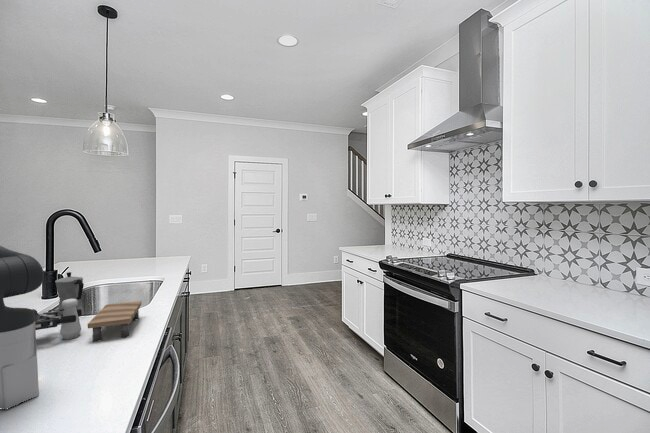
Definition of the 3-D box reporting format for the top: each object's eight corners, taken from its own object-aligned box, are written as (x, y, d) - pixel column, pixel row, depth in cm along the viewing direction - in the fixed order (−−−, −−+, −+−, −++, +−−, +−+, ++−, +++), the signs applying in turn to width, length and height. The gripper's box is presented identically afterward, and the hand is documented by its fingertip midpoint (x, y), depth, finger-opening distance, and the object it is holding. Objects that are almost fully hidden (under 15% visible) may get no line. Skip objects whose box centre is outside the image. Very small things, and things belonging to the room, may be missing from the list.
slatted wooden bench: (130, 337, 110) (129, 318, 110) (88, 343, 106) (87, 323, 106) (141, 316, 131) (141, 300, 131) (107, 320, 127) (106, 304, 127)
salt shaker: (69, 341, 108) (68, 302, 108) (55, 339, 110) (53, 301, 109) (85, 334, 114) (84, 297, 114) (72, 333, 115) (70, 296, 115)
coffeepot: (48, 317, 132) (46, 273, 131) (74, 310, 140) (72, 268, 140) (70, 322, 125) (68, 276, 125) (96, 315, 134) (94, 271, 133)
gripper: (4, 318, 99) (72, 310, 106) (25, 305, 112) (84, 298, 119) (5, 342, 99) (73, 333, 106) (26, 326, 113) (85, 319, 119)
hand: (78, 315), depth 112 cm, fingers open, 6 cm apart
